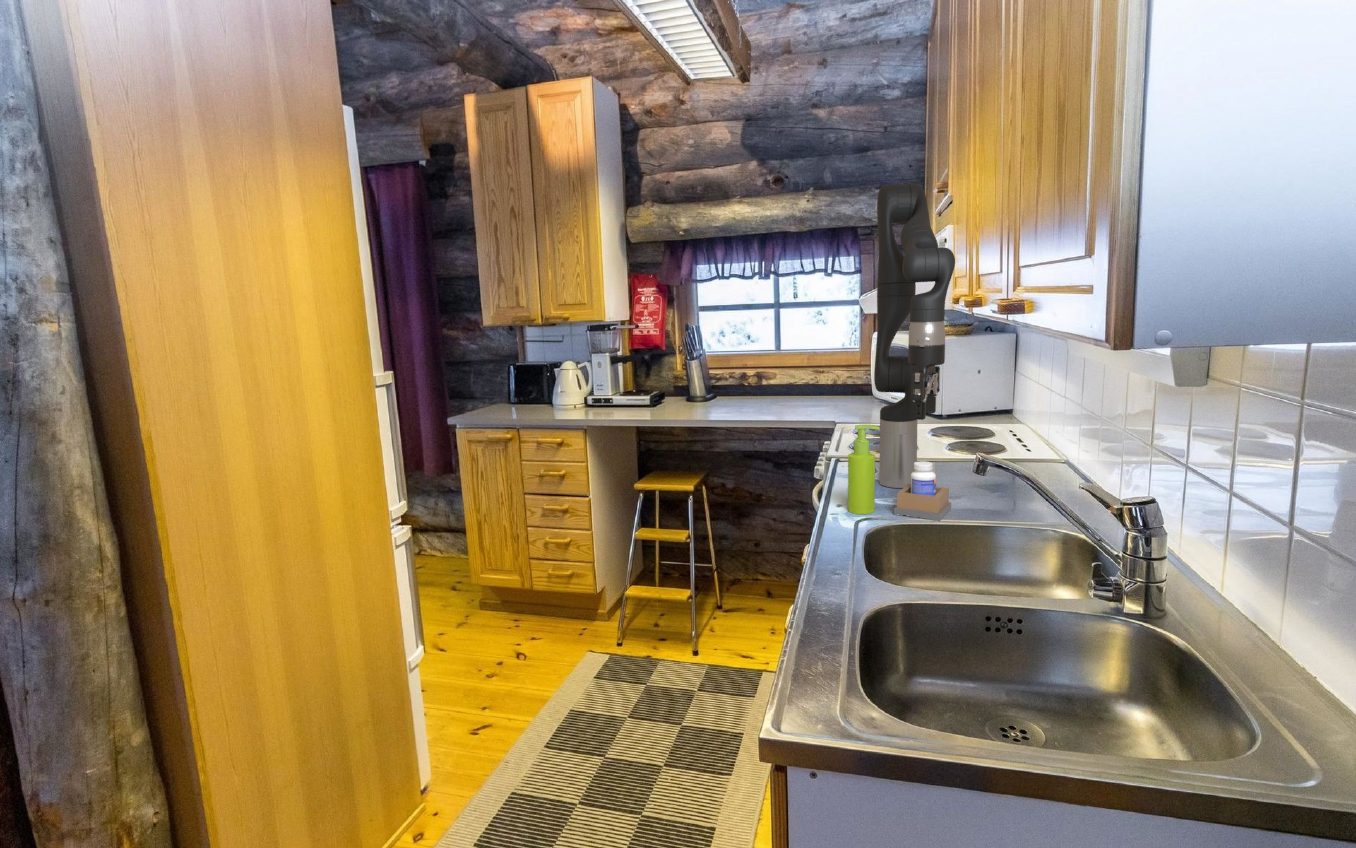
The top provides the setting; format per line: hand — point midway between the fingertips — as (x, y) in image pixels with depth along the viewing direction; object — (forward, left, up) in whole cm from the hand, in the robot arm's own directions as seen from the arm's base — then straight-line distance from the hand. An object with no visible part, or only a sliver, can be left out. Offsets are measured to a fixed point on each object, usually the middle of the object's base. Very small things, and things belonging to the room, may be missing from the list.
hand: (925, 416), depth 154 cm
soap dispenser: (+5, -12, -22) cm, 26 cm away
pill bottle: (0, 0, -21) cm, 21 cm away
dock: (0, 0, -22) cm, 22 cm away
